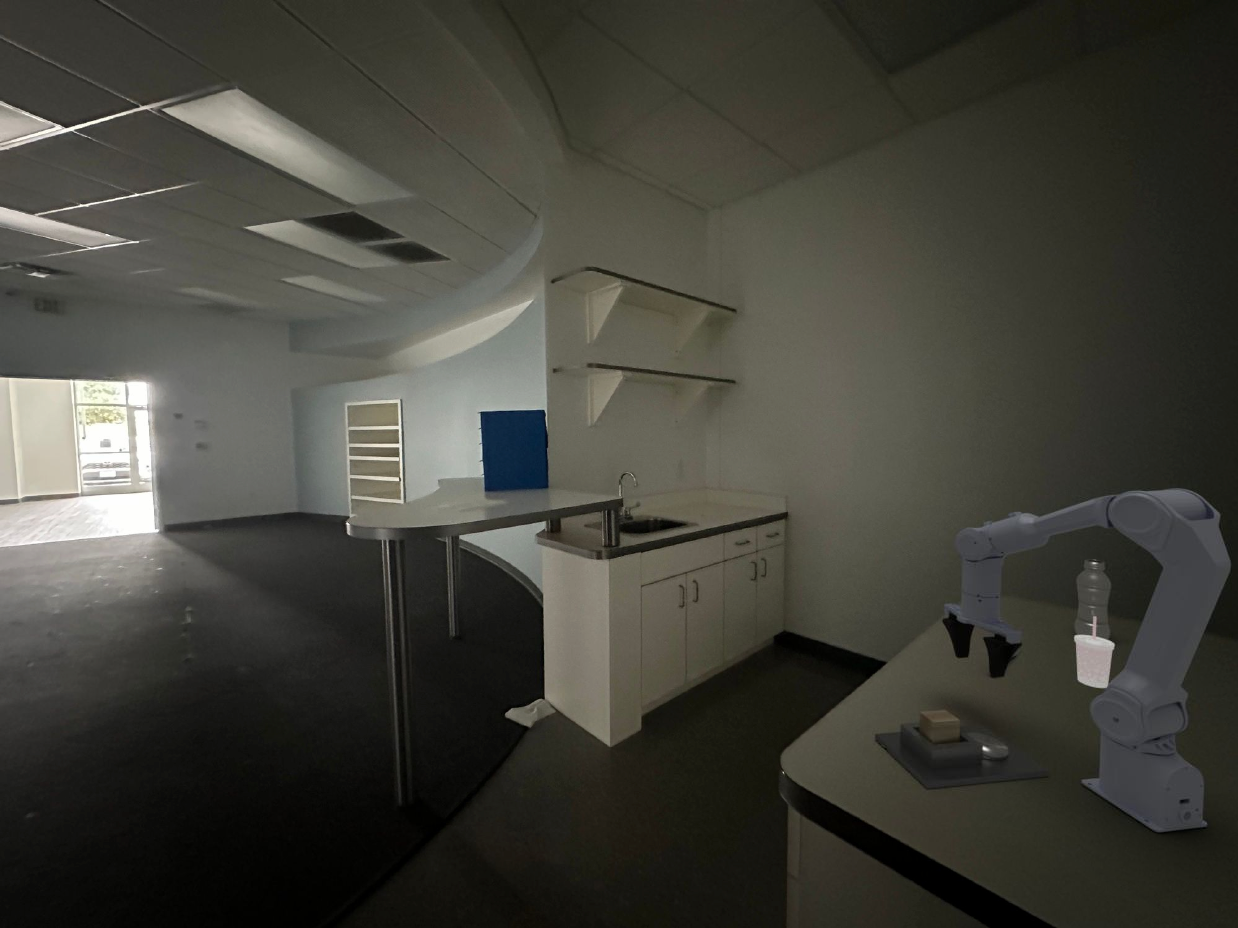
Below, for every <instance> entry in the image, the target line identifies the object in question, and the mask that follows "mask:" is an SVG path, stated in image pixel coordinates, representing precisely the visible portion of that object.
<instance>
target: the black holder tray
mask: <svg viewBox="0 0 1238 928" xmlns="http://www.w3.org/2000/svg"><path fill="white" fill-rule="evenodd" d="M919 724H920V721H918V722H909V723H908V722H907V723H900V726H899V727H900V731H895V732H892V731H891V732H883V733H882V732H881V733H874V740H875V739H876V740H877V741H878V742H879V743H880V744H881V745H883V746H884V748H886V749H887V750H888V751H889V752H888V751H887V750H886V749H885V750H886V751H887V752H888V754H890V755H891V757H893V758H894V759H895V760H896V761H897V762H898V763H899V764H900V765H901V766H902V767H904V768H905V770H907V771H908V772H909V774H911V775H912V776H913V777H914V778H915V779H916V780H917V781H918V782H920V783H921V785H923V786H924V787H925V789H927V790H928V789H929V790H930V789H931V790H932V789H938V788H939V789H940V788H950V787H960V786H969V785H979V784H987V783H988V784H989V783H998V782H1007V781H1008V782H1009V781H1017V780H1026V779H1027V780H1028V779H1036V778H1037V779H1038V778H1047V777H1049V772H1050V771H1049V769H1048V768H1046V767H1045V766H1043V765H1042V764H1041V763H1039V762H1037V761H1036V760H1035V759H1033V758H1032V757H1030V756H1028V755H1027V754H1025V753H1024V752H1023V751H1021V750H1019V749H1018V748H1016V747H1015V746H1014V745H1012V744H1011V743H1009V742H1008V741H1006V740H1005V739H1004V738H1002V737H1000V736H998V734H996V733H994V732H993V731H991V730H990V729H988V728H987V727H986V726H984V725H982V724H975V725H974V724H973V725H964V726H961V725H960V738H959V742H958V743H947V744H936V745H933V744H932V743H931V742H930V741H928V740H927V739H926V738H925V737H923V736H922V735H921V734H920V733H919ZM876 740H875V741H876ZM877 741H876V742H877ZM878 742H877V743H878ZM879 743H878V744H879ZM880 744H879V745H880ZM881 745H880V746H881ZM884 748H883V749H884Z"/></svg>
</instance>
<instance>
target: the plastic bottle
mask: <svg viewBox="0 0 1238 928" xmlns="http://www.w3.org/2000/svg"><path fill="white" fill-rule="evenodd" d="M1083 568H1084V570H1083V571H1081V572H1080V573H1079V574H1078V575H1077V577H1076V580H1075V581H1076V582H1075V583H1076V589H1077V594H1078V595H1077V596H1078V597H1077V598H1078V599H1077V600H1078V607H1077V608H1078V609H1077V616H1076V618H1075V622H1074V631H1075V633H1076V635H1090V636H1093V616H1096V637H1100V638H1103V639H1106V640H1110V635H1111V630H1110V625H1109V617H1108V605H1109V598H1110V594H1111V589H1112V582H1111V580H1110V579H1109V577H1108V576H1107V575H1106V573H1105V572H1104V571H1105V569H1106V568H1105V561H1102V560H1097V559H1085V560H1084V563H1083Z"/></svg>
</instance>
